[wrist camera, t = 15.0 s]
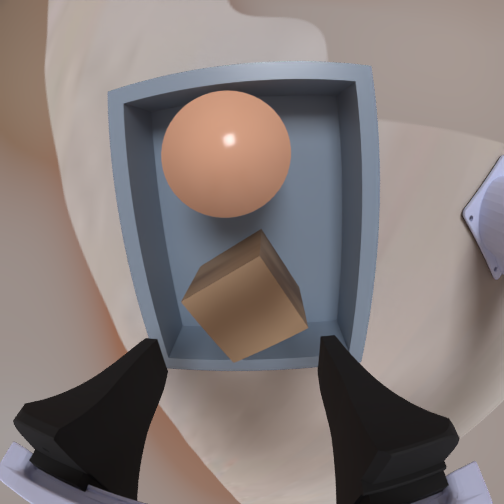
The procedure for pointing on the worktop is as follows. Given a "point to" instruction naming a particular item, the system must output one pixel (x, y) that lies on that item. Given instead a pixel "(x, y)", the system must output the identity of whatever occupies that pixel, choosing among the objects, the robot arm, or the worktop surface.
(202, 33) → the worktop surface
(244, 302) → the walnut block
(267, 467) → the worktop surface
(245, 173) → the peach rounded cylinder
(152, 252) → the slate tote
